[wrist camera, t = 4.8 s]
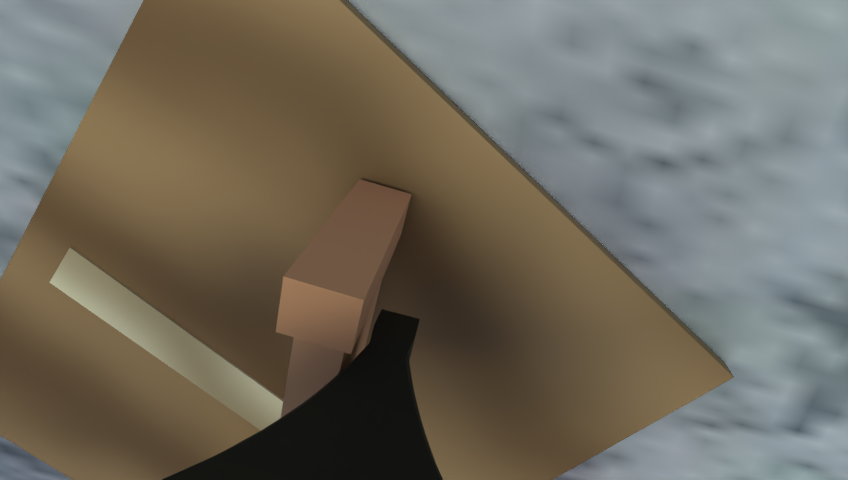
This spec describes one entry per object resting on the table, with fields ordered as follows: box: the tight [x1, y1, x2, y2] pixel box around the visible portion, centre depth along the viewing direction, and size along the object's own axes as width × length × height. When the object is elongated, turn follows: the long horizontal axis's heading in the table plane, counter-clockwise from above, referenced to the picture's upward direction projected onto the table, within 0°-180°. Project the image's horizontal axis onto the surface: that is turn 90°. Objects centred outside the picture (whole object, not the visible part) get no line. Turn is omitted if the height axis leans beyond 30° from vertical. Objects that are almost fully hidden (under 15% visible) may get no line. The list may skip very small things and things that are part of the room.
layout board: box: [0, 0, 733, 480], centre depth 17 cm, size 22×18×1 cm
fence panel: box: [276, 179, 412, 418], centre depth 13 cm, size 10×1×5 cm, turn 166°
